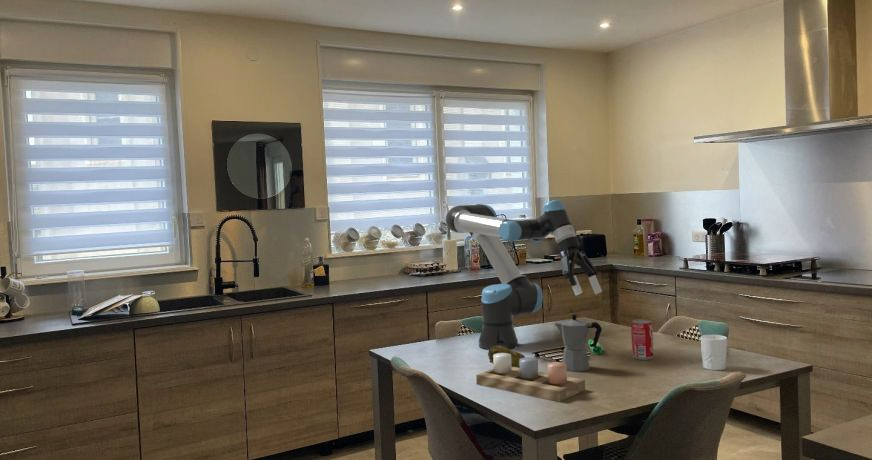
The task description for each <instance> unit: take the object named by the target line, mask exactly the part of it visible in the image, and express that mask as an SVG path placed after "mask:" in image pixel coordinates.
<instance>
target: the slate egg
mask: <svg viewBox="0 0 872 460" xmlns="http://www.w3.org/2000/svg"><path fill="white" fill-rule="evenodd" d="M519 365H520V377H522V378H536V377H538V371H539V359H538V358H536V357H532V356H531V357H528V356H527V357H526V356H525V358H521V359H519Z"/></svg>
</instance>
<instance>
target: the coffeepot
mask: <svg viewBox="0 0 872 460" xmlns="http://www.w3.org/2000/svg"><path fill="white" fill-rule="evenodd" d="M577 315H578V314H576V313H575V314H571V319H570V320H566V321H558V322H556V323H554V326H555V327H557V329H558V331H559V333H560V334H561V336H562V337H561V338H562V342H563V343H564V349H563V354H562V362H563V363H566V364H567V372H576V373H577V372H584V371H588V370H589V369H590V368H591V367H590V363H589V356H588V352H587V349H586V344H587V342H588V333H589V329H596V330H595V333H594V337H593V339H594V343H593V344H589V345H590V347H596V345H597V342H598V343H599V339H600V337H601V333H602V330H603V328H602V326H601V325H600V324H599V323H598V322H597V321H596V322H595V321H594V322H593V321H591V322H590V321H589V322H588V321H583V320H579V319H577V317H578V316H577ZM590 347H589V348H590Z"/></svg>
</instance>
